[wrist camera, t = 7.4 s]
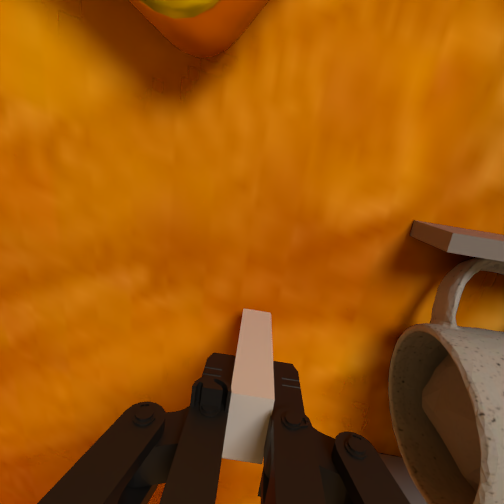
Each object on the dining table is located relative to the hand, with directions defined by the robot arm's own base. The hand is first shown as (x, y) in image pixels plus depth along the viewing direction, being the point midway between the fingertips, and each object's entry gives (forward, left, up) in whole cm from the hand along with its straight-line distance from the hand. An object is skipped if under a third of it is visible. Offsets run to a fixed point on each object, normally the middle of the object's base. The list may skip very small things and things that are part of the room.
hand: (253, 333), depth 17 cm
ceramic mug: (+11, +1, -1) cm, 12 cm away
